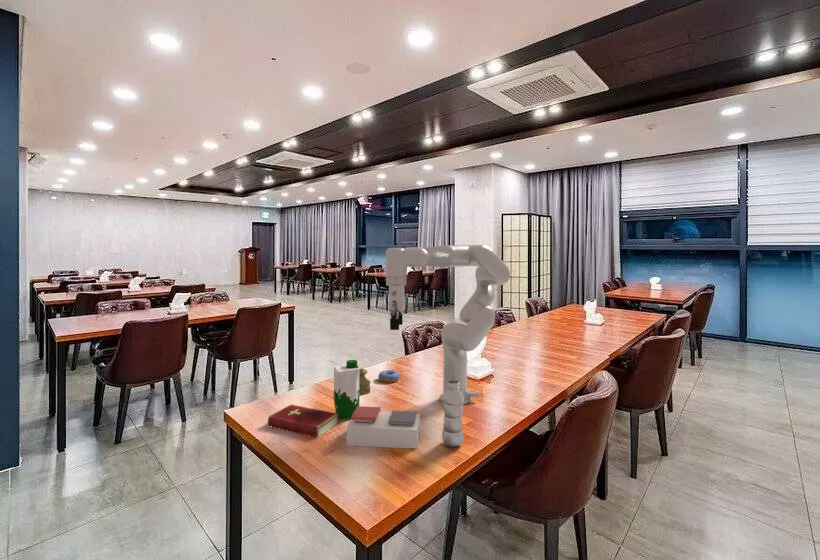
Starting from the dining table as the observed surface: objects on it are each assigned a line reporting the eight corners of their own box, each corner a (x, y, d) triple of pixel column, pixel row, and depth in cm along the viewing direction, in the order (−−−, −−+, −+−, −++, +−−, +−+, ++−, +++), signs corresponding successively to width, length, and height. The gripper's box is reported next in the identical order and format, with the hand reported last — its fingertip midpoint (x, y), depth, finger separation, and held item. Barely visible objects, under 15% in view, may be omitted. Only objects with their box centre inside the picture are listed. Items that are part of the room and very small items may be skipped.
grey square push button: (416, 430, 128) (416, 411, 128) (414, 442, 120) (414, 422, 120) (392, 429, 129) (392, 410, 129) (388, 441, 121) (388, 421, 121)
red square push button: (380, 426, 129) (380, 407, 129) (376, 437, 121) (376, 417, 121) (357, 425, 130) (357, 406, 130) (351, 436, 122) (351, 416, 122)
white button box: (420, 430, 130) (419, 413, 130) (416, 448, 118) (416, 429, 118) (356, 427, 132) (355, 410, 132) (346, 445, 121) (346, 426, 120)
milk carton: (362, 417, 141) (361, 363, 139) (337, 421, 137) (336, 366, 136) (355, 408, 149) (355, 357, 147) (332, 412, 145) (331, 360, 144)
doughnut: (403, 380, 180) (402, 370, 180) (385, 385, 175) (384, 375, 175) (393, 377, 189) (392, 367, 189) (375, 381, 183) (374, 372, 183)
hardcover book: (317, 439, 125) (317, 426, 125) (267, 427, 134) (267, 416, 133) (338, 424, 136) (338, 412, 136) (291, 414, 145) (291, 403, 144)
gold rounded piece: (367, 395, 162) (367, 372, 162) (350, 394, 164) (350, 371, 163) (372, 389, 170) (372, 367, 169) (356, 388, 171) (356, 366, 170)
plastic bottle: (440, 439, 124) (440, 378, 122) (461, 438, 124) (461, 378, 123) (443, 450, 118) (444, 385, 116) (465, 449, 118) (466, 385, 117)
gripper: (403, 283, 133) (403, 332, 135) (408, 279, 151) (409, 323, 152) (382, 283, 134) (382, 331, 136) (389, 279, 151) (390, 322, 153)
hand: (396, 327), depth 144 cm, fingers open, 9 cm apart
